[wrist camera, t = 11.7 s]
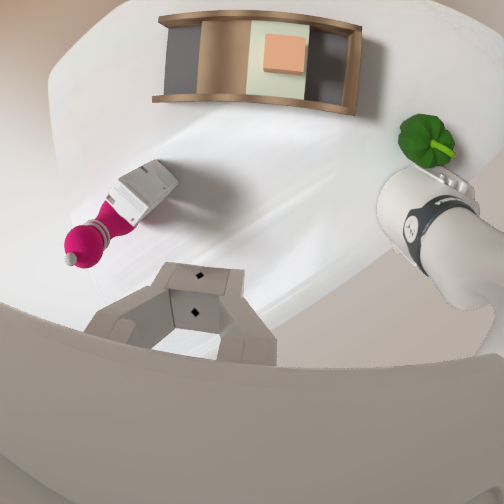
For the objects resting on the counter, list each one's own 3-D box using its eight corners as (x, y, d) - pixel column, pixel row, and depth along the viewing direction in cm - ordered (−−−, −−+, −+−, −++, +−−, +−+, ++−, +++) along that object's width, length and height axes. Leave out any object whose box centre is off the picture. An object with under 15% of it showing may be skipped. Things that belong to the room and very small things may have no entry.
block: (302, 44, 28) (306, 37, 25) (300, 75, 31) (303, 72, 28) (266, 40, 29) (265, 33, 25) (263, 72, 31) (262, 68, 28)
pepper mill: (113, 185, 44) (42, 235, 27) (147, 186, 44) (81, 240, 27) (117, 221, 48) (56, 281, 30) (150, 223, 48) (94, 290, 30)
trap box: (352, 34, 29) (362, 26, 24) (346, 114, 36) (355, 115, 31) (170, 24, 29) (158, 16, 25) (164, 102, 36) (152, 102, 32)
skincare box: (180, 181, 43) (152, 207, 33) (165, 199, 45) (134, 229, 35) (154, 157, 41) (118, 176, 31) (140, 176, 43) (103, 200, 33)
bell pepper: (380, 134, 37) (408, 144, 28) (410, 103, 33) (443, 105, 24) (410, 170, 39) (440, 189, 30) (438, 140, 35) (472, 152, 27)
